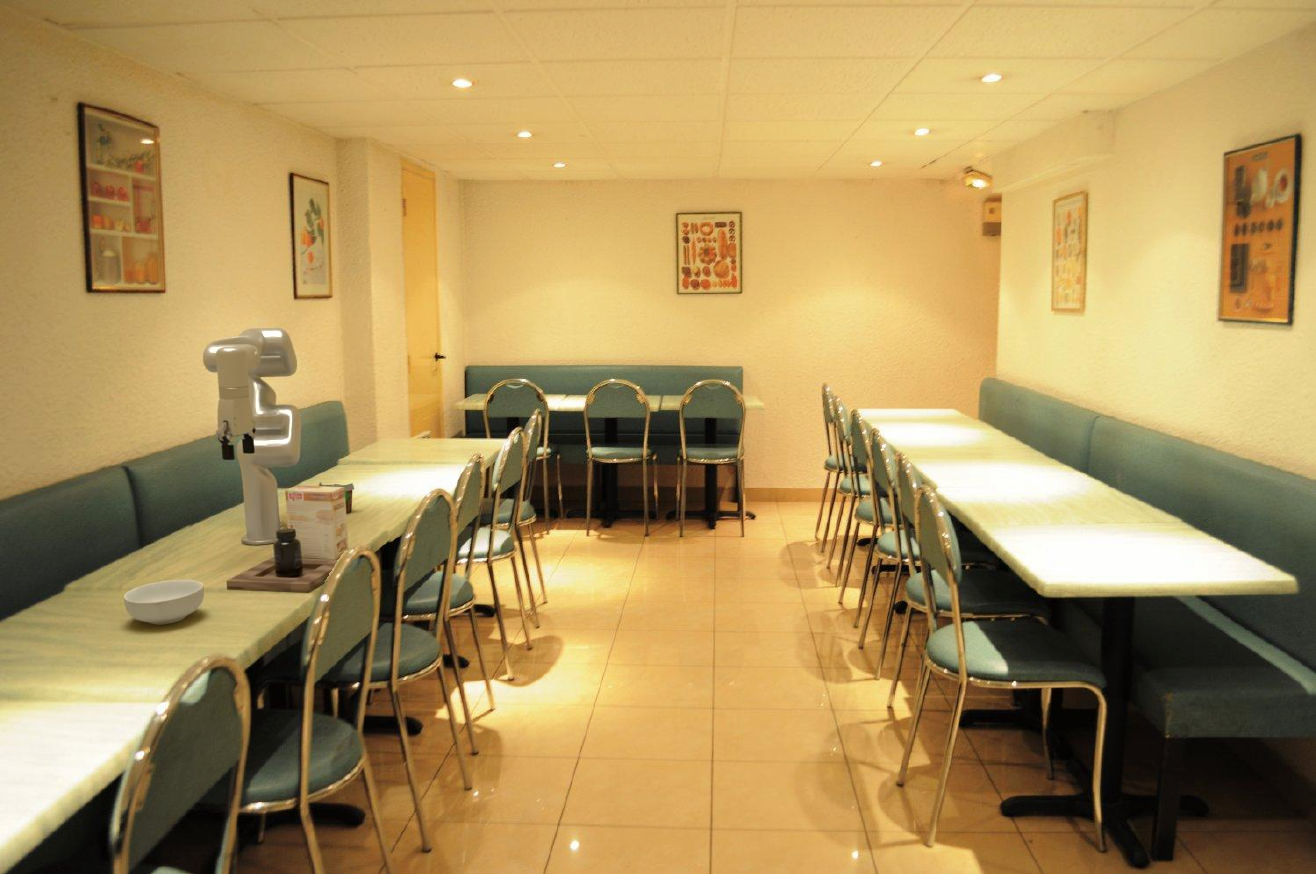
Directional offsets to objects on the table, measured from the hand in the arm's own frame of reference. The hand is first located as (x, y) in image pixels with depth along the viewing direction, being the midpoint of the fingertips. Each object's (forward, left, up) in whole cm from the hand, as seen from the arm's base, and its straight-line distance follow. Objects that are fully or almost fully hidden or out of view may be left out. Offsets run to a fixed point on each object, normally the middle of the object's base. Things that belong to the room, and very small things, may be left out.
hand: (238, 456), depth 278 cm
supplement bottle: (+10, +18, -30) cm, 36 cm away
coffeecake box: (-12, +15, -31) cm, 36 cm away
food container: (-61, -5, -31) cm, 68 cm away
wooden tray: (+10, +18, -30) cm, 37 cm away
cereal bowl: (+44, +6, -31) cm, 54 cm away
